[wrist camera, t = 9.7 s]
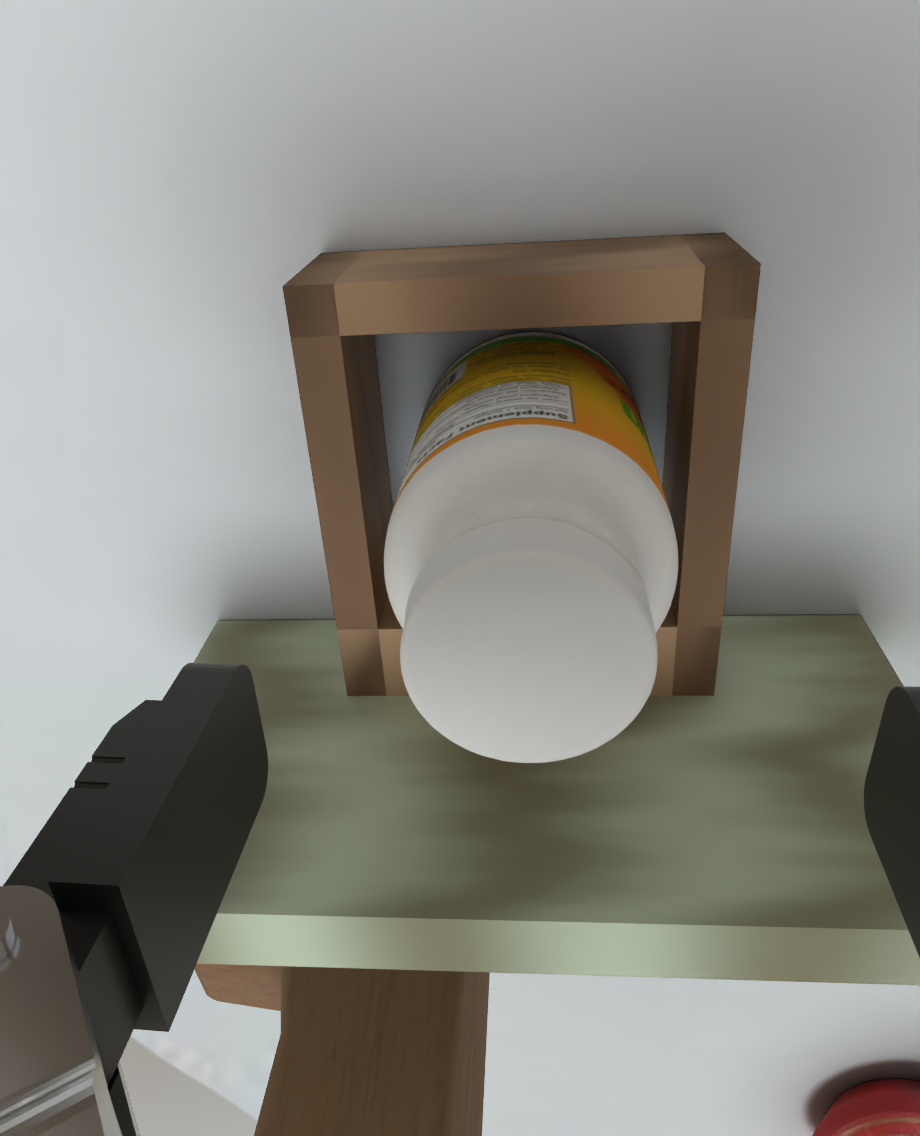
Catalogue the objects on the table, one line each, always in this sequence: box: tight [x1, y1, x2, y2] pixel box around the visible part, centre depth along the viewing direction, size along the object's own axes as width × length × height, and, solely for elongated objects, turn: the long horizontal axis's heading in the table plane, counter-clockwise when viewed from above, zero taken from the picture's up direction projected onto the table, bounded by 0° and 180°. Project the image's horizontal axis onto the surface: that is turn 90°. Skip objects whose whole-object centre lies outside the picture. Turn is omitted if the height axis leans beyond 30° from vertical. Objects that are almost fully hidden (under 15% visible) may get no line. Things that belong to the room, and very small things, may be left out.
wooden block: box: [194, 964, 490, 1136], centre depth 21 cm, size 9×4×18 cm, turn 99°
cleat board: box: [194, 233, 920, 985], centre depth 18 cm, size 18×12×10 cm, turn 94°
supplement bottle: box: [384, 332, 678, 763], centre depth 17 cm, size 5×5×10 cm
